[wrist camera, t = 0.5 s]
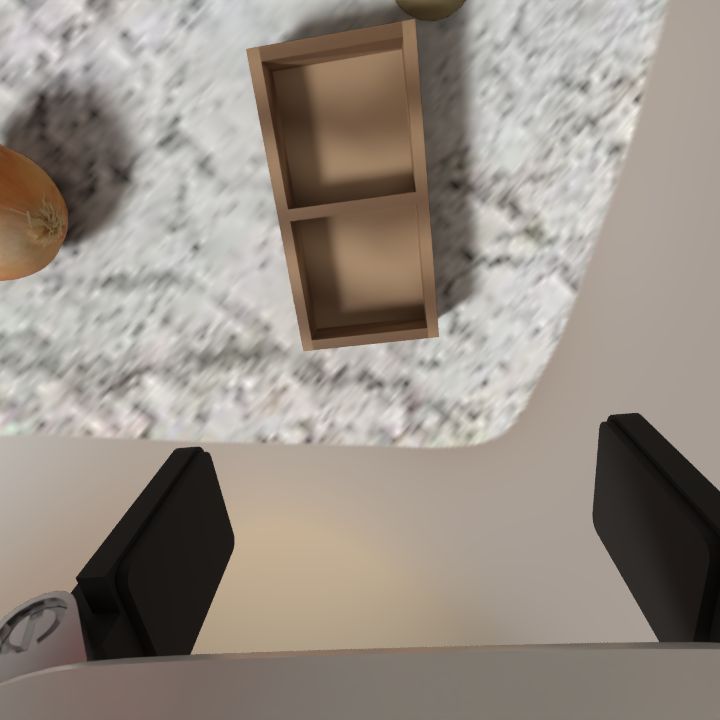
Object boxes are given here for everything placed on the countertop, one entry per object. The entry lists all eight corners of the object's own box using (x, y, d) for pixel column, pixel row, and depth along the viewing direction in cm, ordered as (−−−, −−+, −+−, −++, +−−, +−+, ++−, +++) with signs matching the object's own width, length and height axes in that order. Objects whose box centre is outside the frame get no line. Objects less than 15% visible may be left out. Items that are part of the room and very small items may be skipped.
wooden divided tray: (263, 64, 33) (246, 48, 29) (412, 38, 32) (415, 18, 28) (311, 334, 40) (303, 351, 36) (433, 320, 39) (438, 336, 35)
